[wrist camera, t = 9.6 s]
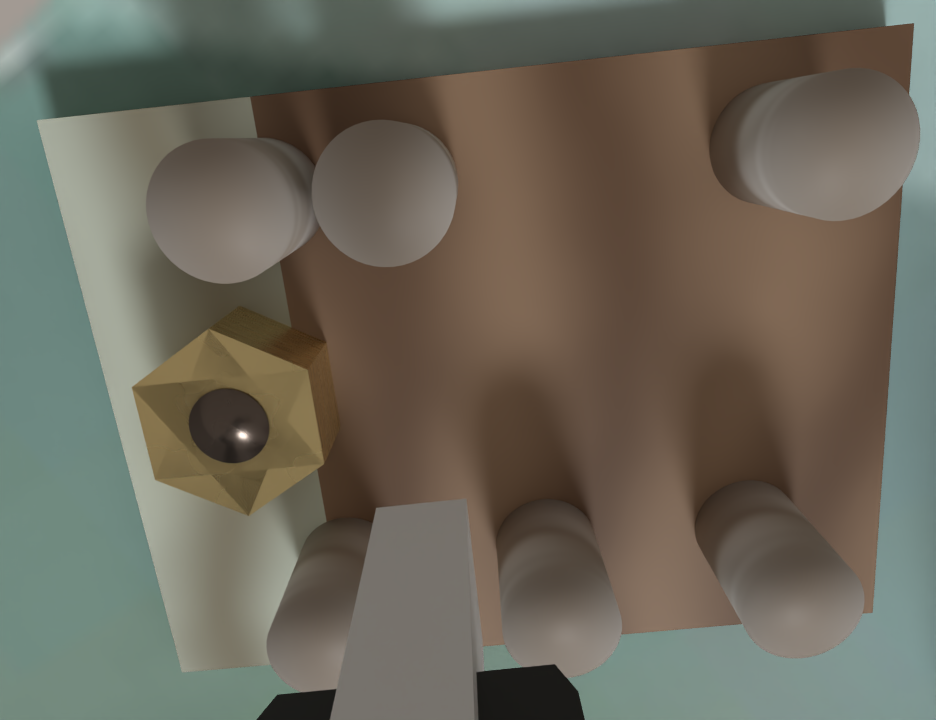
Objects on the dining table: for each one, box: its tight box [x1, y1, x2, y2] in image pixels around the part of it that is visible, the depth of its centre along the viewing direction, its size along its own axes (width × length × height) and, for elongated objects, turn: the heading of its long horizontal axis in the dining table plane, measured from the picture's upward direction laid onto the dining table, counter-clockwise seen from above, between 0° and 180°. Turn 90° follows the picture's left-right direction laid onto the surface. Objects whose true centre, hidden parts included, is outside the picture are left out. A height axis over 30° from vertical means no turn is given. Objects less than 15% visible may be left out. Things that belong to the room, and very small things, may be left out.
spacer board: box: [37, 23, 920, 692], centre depth 19 cm, size 22×17×5 cm
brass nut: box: [132, 306, 341, 516], centre depth 19 cm, size 4×5×2 cm
